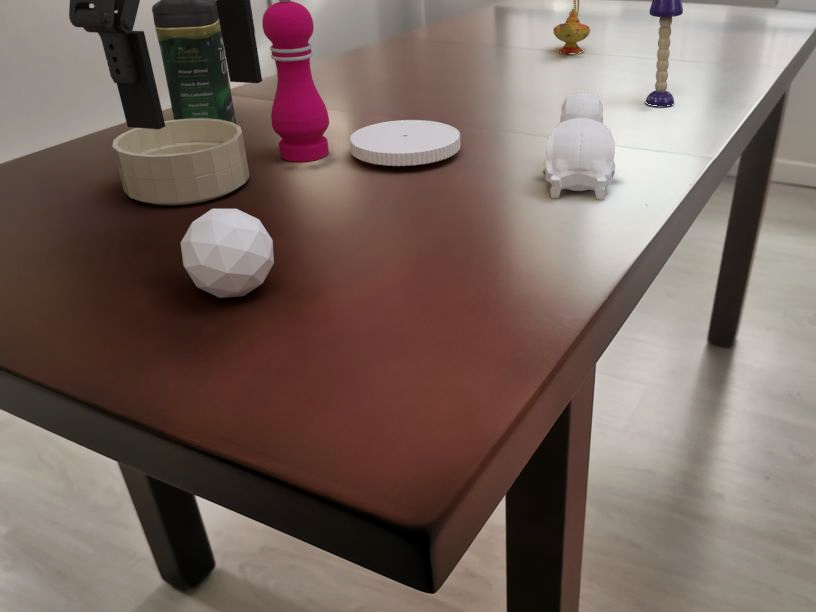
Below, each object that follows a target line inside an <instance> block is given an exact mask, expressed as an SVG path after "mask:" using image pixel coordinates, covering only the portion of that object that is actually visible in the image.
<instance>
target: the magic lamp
mask: <svg viewBox="0 0 816 612" xmlns="http://www.w3.org/2000/svg"><path fill="white" fill-rule="evenodd" d="M579 13H580V0H573V8H572V9H571V11H570V12H568V15H569V16H568V17H567V18H566V19H565V22H564V23H559V24H557V25H556V26H554V27H553V30H552V31H553V35H554V37H555V38H556V39H557V40H559V41H561V42H564V43H565V44H564V46H562V47H561V48H558V49H557V51H556V52H557V53H558V54H563V55H567V54H566V53H575V54H574V55H580V54H584V53H585V50H584V49H582V48H581V47H580V46H579V45H578V43H579V42H582V41H584V40H585V39H587V38H588V36H590V32H591V28H590V27H589V26H588V25H587V24H583V23H581V22H580V18H579ZM583 50H584V51H583ZM558 51H559V52H558ZM582 51H583V52H582ZM560 52H561V53H560ZM579 52H581V53H579Z"/></svg>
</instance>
